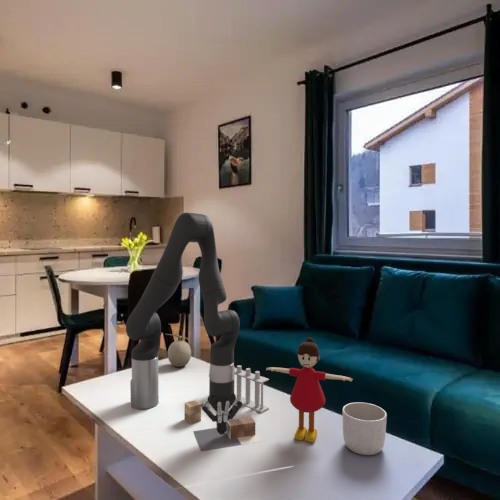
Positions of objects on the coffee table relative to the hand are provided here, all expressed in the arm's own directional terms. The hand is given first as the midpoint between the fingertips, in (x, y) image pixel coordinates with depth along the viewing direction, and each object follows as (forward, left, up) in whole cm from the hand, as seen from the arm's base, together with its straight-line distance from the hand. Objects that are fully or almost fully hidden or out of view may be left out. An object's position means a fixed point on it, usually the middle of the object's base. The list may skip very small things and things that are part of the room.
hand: (221, 432), depth 127 cm
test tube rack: (+6, +27, -2) cm, 27 cm away
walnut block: (+2, +1, +1) cm, 2 cm away
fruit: (-20, +66, -2) cm, 68 cm away
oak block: (-10, +12, -2) cm, 15 cm away
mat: (+1, +1, -2) cm, 2 cm away
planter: (+41, -7, -2) cm, 42 cm away
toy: (+26, +1, -2) cm, 26 cm away
